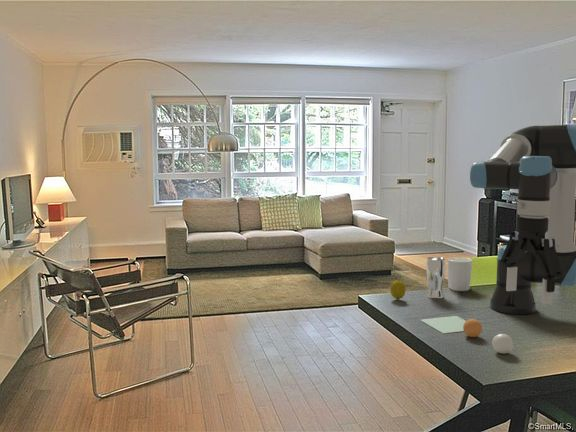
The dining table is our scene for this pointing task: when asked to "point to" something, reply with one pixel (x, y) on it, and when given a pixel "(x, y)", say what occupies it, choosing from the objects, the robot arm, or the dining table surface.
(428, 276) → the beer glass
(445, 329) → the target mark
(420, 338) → the dining table surface
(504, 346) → the cue ball
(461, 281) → the candle holder
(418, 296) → the dining table surface
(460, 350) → the dining table surface
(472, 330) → the object ball
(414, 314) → the dining table surface
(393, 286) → the lemon
